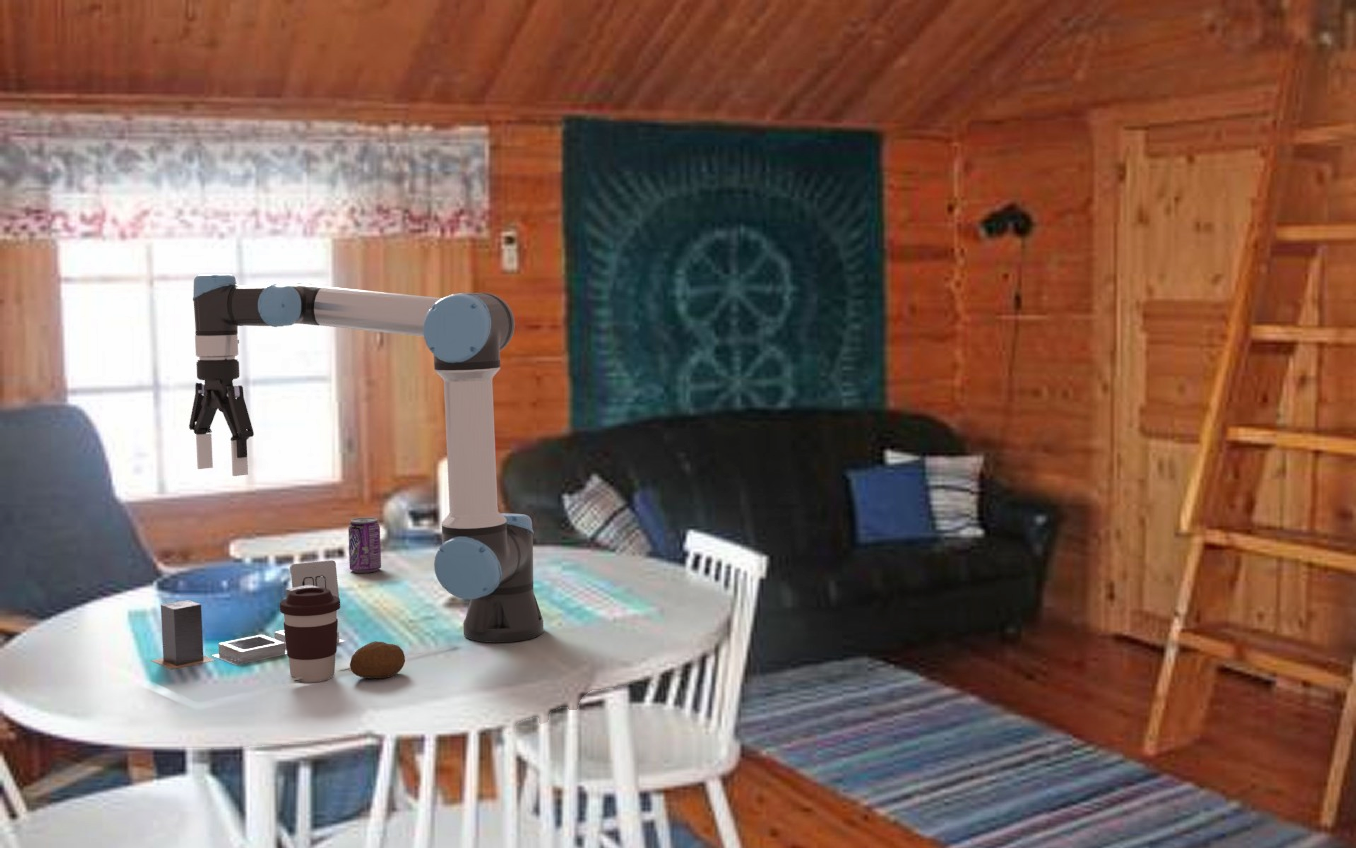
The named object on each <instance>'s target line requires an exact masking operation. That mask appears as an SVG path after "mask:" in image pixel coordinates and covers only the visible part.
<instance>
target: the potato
mask: <svg viewBox="0 0 1356 848" xmlns="http://www.w3.org/2000/svg"><path fill="white" fill-rule="evenodd" d="M405 661H406V657H405V652H404V650H403V649H402V648H401V647H400V646H399V645H398V644H395V643H394V644H393V643H386V642H384V641H375V640H374V641H372V642H369V643H366V644H364V646H361V647H359V648H358V649H357V650H356V651H355V652H354V653H353V655H352V656H351V659H350V663H349V669H350V671H352V673H353V674H354V675H355V676H357V677H360V678H364V679H384V678H390V677H393V676H395V675H396V674H398V673H399V672H401V670H402V669H403V668H404V666H405Z"/></svg>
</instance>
